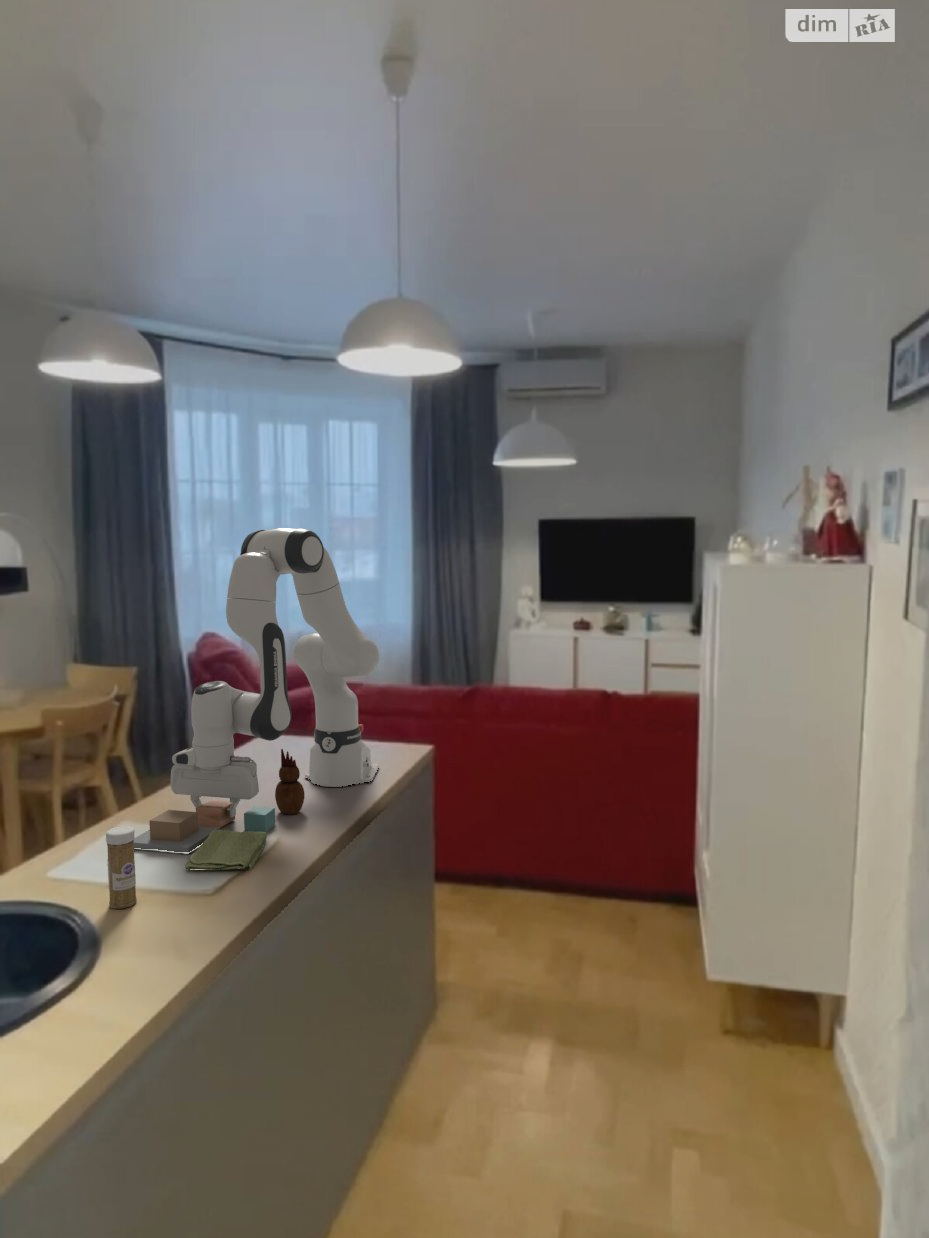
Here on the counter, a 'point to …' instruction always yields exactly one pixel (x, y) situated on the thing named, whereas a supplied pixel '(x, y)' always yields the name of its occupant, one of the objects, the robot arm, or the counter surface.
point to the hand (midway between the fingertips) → (215, 814)
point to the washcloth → (228, 850)
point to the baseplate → (174, 845)
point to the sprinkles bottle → (121, 867)
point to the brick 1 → (214, 813)
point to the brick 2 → (259, 819)
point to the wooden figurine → (289, 787)
